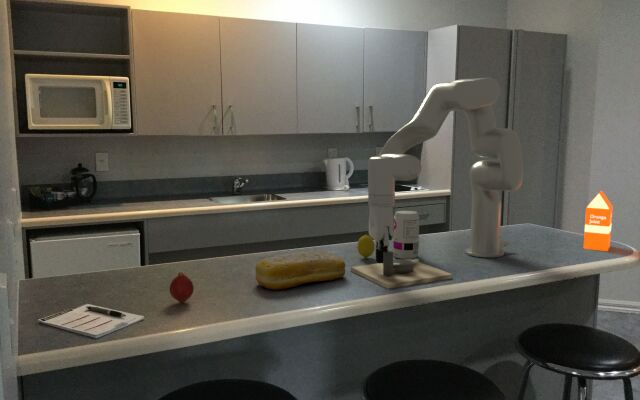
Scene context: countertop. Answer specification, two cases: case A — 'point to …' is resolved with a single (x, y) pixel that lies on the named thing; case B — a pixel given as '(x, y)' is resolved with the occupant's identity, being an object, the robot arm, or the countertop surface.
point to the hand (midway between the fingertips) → (381, 262)
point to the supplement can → (406, 234)
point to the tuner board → (401, 275)
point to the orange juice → (598, 223)
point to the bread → (298, 269)
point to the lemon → (365, 246)
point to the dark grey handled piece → (396, 264)
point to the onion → (181, 288)
